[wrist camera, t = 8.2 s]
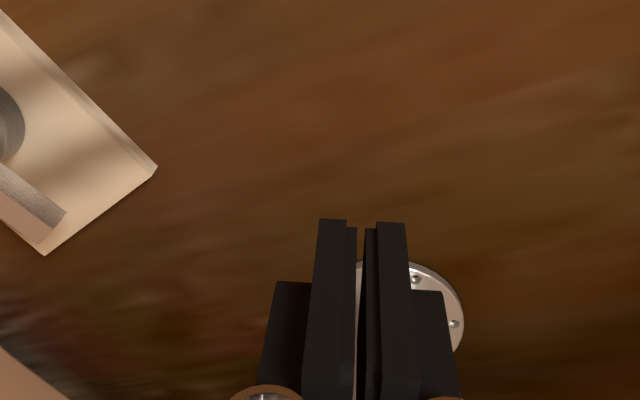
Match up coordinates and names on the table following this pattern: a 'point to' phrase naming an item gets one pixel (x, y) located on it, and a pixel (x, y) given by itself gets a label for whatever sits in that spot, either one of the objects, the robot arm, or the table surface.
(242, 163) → the table surface
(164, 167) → the table surface
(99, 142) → the stand
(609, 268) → the table surface
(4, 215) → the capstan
